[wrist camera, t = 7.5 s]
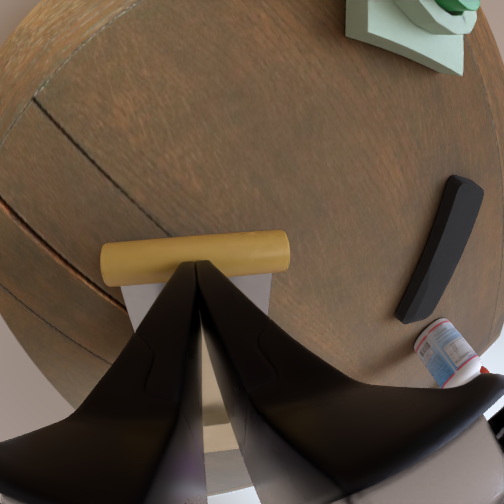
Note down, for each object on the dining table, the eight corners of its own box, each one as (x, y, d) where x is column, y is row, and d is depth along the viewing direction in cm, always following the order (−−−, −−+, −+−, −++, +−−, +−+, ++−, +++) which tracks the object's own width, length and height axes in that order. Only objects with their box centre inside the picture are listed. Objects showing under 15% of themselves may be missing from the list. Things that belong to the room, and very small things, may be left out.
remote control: (444, 171, 18) (391, 319, 25) (460, 178, 16) (401, 330, 23) (472, 179, 19) (422, 311, 26) (486, 186, 17) (431, 321, 25)
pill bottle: (422, 351, 32) (462, 409, 23) (405, 347, 30) (450, 414, 20) (451, 320, 30) (496, 376, 21) (438, 311, 28) (490, 377, 18)
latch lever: (111, 233, 9) (91, 258, 7) (273, 220, 10) (297, 242, 8) (163, 421, 13) (164, 455, 11) (265, 409, 15) (276, 441, 12)
